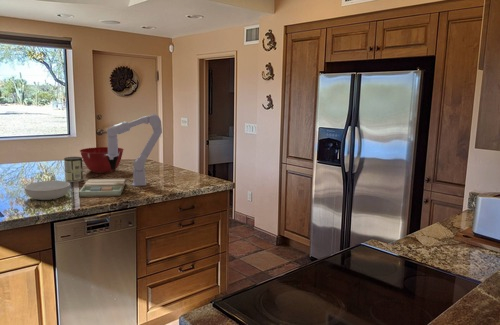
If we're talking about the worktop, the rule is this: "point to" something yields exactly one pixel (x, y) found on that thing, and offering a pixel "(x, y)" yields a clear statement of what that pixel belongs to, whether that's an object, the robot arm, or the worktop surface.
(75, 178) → the coffee can
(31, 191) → the serving bowl
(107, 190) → the terracotta tile
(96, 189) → the slate tile
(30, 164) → the worktop surface
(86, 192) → the box
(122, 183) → the birch board
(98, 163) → the mixing bowl
